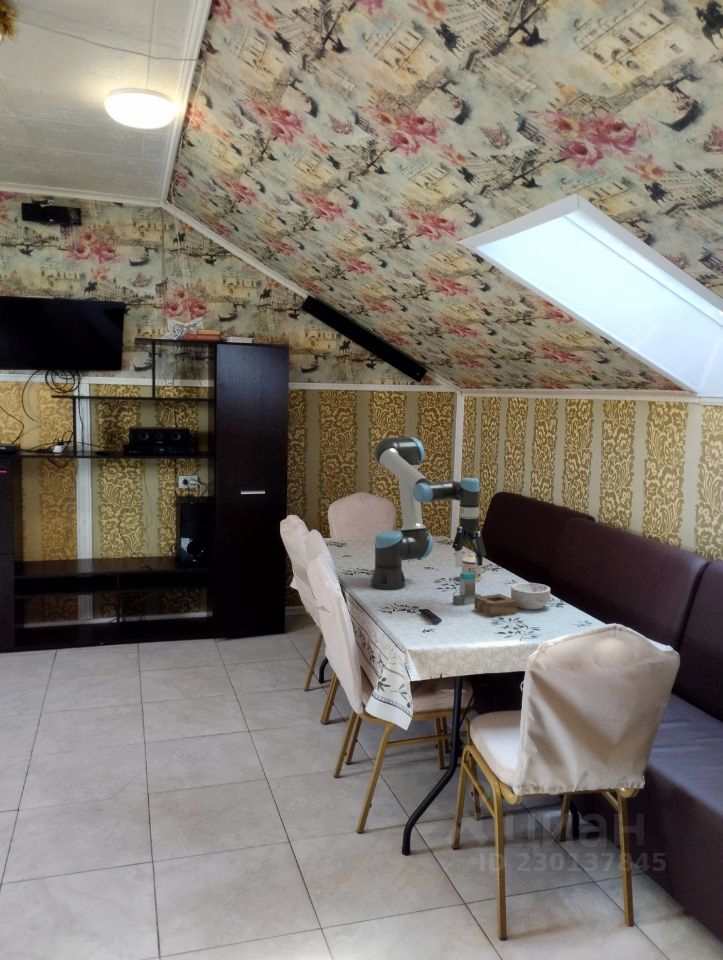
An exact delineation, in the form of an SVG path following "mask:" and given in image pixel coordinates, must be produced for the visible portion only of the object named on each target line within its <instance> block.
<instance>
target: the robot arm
mask: <svg viewBox="0 0 723 960" xmlns="http://www.w3.org/2000/svg"><path fill="white" fill-rule="evenodd" d="M373 457H374V459H375V461H376V464H378V465H379V466H380V467H381V468H383V469H386V470H388V471H390V472H391V473H392V474H393V475H394V476H395V477H396V478H398V487H399V497H400V505H401V506H400V507H401V516H402V526H401V528H400V530H386V531H383V532H380V533H378V534H377V535H376V536H375V540H374V569H373V573H372V575H371V579H370V586H371V587H372V588H374V587H375V588H374V589H377V588H379V589H378V590H385V589H389V591H390V590H391V591H393V589H394V590H399V589H400V588H401V589H403V587H404V588H405V587H406V579H405V576H404V572H403V568H402V565H403V561H409V560H411V561H412V560H420V559H423V558H427V557H428V556H429V555H430V554H431V552H432V551H433V548H434V539H433V536H432V534H431V533H430V532H429V531H427V526H425V525H424V524H423V518H422V507H421V506H422V505H421V503H430V502H440V501H441V502H442V501H459V516H460V517H459V526H458V527H457V528H456V534H455V537H454V540H453V543H452V545H451V547H452V549H454V550H455V568H462V559H463V547H464V545H465V543H466V541H467V542H469V543H471V546H472V548H473V550H474V553H475V574H479V573H482V572H483V565H482V563H483V561H484V560H483V557H486V556H487V551H486V548H485V547H486V546H485V544H484V540H483V534H482V533H483V532H482V531H477V528H479V526H480V524H479V523H480V518H479V517H480V490H481V489H480V480H479V479H478V478H476V477H463V478H461V479H460V481H456V480H447V479H446V480H444V481H438V482H437V481H435V482H433V481H431V480H429V479H428V478H427V477H426V476H424V474H422V473H421V472H420V471H419V470H418V469H420V467H421V462H423V460H424V457H425V448H424V445H423V444H422V442H421V441H420V440H419V439H418V438H417V437H411V436H410V437H409V436H405V437H404V436H402V437H399V436H398V437H385V438H382V439H381V440H380V441H378V442H377V443H376V445H375V446H374V449H373Z"/></svg>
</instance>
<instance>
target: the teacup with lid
mask: <svg viewBox="0 0 723 960" xmlns="http://www.w3.org/2000/svg"><path fill="white" fill-rule="evenodd" d="M475 557H476V555H475V554H474V553H469V555H468V556H466V557H464V558H463V557H462V567H461V573H466V572H472V573H475ZM483 565H484V569H483V570H482V573H479V574H476V576H475V581H476V582H480V581H481V579H482V575H484V574H485V573H486V572H487V570H488V567H487V566H488V565H487V564H486V563H484V562H482V566H483ZM479 580H480V581H479Z"/></svg>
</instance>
